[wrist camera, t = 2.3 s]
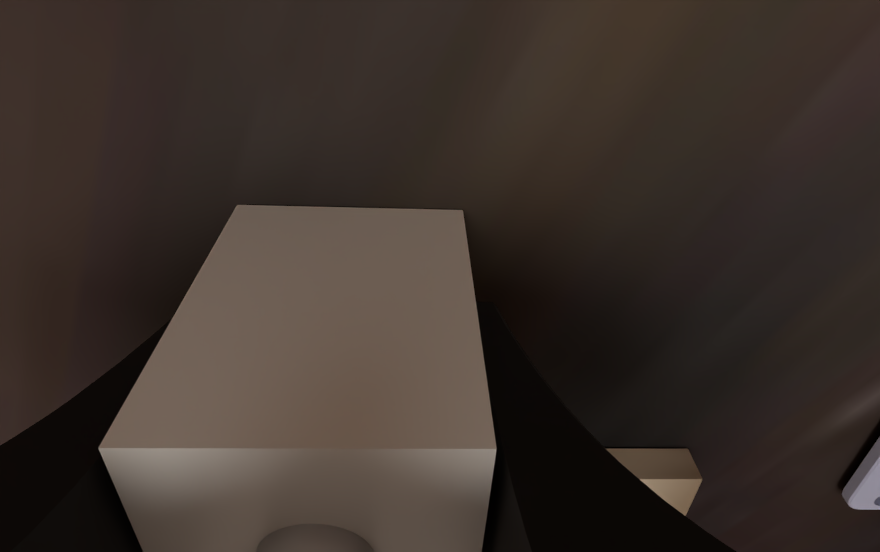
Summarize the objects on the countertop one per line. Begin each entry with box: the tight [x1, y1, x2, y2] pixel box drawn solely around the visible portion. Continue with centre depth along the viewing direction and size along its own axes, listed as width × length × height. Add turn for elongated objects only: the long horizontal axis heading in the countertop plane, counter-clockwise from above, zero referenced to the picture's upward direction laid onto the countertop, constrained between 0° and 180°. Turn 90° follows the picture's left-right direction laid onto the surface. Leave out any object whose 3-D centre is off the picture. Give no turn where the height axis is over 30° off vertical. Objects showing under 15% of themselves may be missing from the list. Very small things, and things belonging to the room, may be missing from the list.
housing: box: [98, 205, 497, 552], centre depth 10 cm, size 4×4×7 cm
